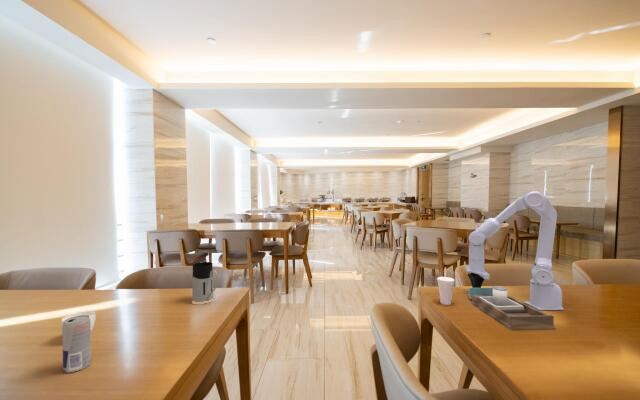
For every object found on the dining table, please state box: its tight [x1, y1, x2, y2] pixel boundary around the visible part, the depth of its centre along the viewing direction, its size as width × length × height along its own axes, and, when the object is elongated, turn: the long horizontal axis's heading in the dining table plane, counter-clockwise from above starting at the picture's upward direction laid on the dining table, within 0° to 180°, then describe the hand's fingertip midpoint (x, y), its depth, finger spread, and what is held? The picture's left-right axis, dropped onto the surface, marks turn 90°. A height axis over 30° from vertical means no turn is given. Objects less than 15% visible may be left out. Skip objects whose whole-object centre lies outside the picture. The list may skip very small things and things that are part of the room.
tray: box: [468, 286, 526, 313], centre depth 110 cm, size 17×11×4 cm, turn 2°
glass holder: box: [191, 261, 219, 302], centre depth 115 cm, size 9×14×15 cm, turn 54°
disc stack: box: [492, 285, 508, 306], centre depth 107 cm, size 5×5×6 cm
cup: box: [60, 310, 97, 332], centre depth 87 cm, size 8×10×7 cm
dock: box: [470, 294, 556, 331], centre depth 102 cm, size 22×15×4 cm, turn 2°
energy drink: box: [61, 315, 92, 374], centre depth 72 cm, size 5×5×12 cm
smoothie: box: [436, 267, 455, 306], centre depth 113 cm, size 6×6×14 cm
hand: (476, 291), depth 122 cm, fingers closed
